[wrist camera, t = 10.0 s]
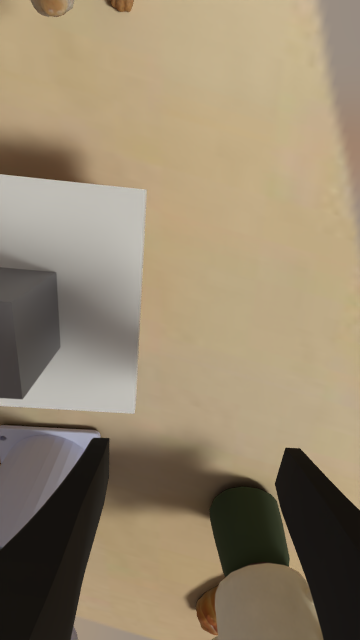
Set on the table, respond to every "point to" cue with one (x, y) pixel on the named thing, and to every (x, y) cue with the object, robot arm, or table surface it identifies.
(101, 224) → the lid
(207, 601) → the pastry
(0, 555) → the robot arm
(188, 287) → the table surface
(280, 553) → the character mug
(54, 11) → the lion figurine
